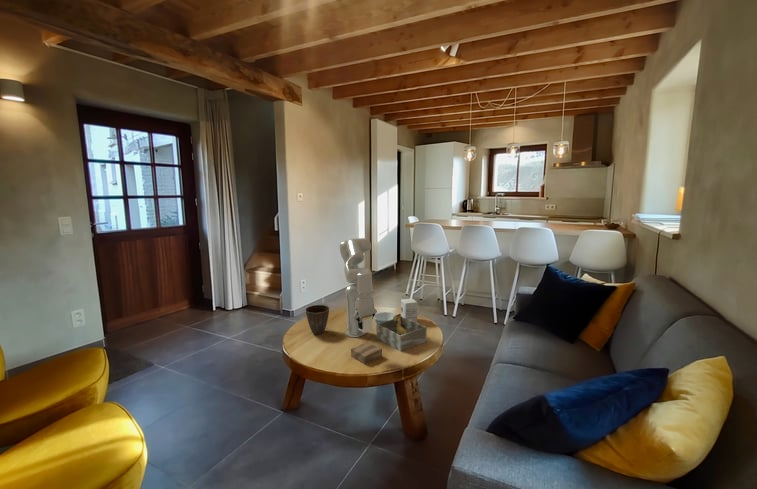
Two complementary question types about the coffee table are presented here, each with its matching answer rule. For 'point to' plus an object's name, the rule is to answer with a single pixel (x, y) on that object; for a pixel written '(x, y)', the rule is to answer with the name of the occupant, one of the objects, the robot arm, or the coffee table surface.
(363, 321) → the tea tin
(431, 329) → the coffee table surface
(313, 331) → the plant pot
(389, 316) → the chinaware
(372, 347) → the walnut box
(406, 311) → the supplement box
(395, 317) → the stuffed giraffe
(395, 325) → the grey crate
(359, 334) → the robot arm
